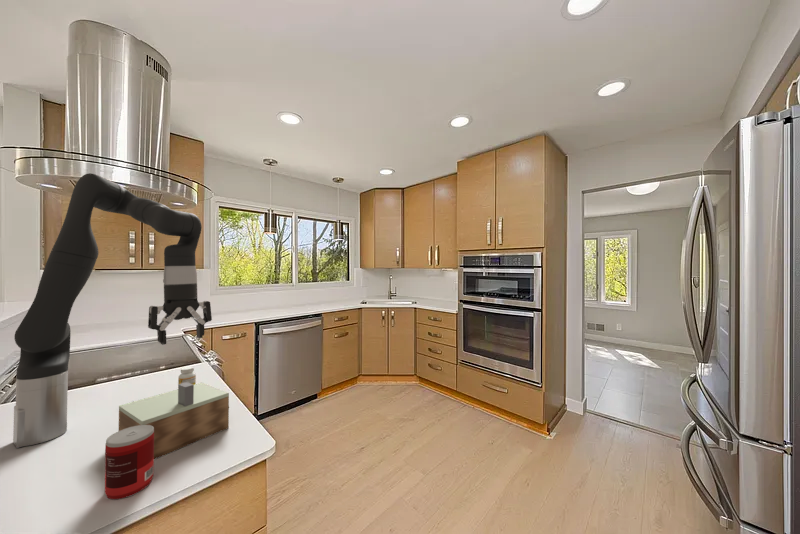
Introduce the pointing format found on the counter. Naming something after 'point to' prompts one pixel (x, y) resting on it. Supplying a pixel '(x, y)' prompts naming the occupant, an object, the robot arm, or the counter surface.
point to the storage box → (185, 426)
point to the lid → (172, 402)
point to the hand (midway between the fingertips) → (182, 340)
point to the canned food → (129, 461)
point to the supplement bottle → (187, 376)
